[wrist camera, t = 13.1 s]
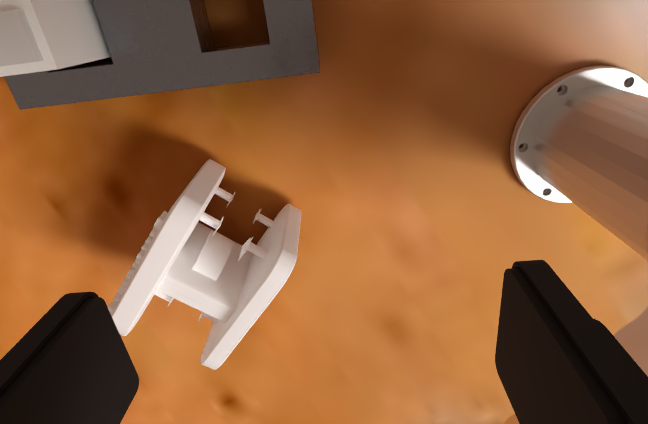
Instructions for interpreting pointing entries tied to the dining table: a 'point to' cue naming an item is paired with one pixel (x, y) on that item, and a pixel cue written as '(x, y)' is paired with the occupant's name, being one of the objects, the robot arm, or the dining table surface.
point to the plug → (48, 35)
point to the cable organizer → (209, 266)
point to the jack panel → (174, 53)
